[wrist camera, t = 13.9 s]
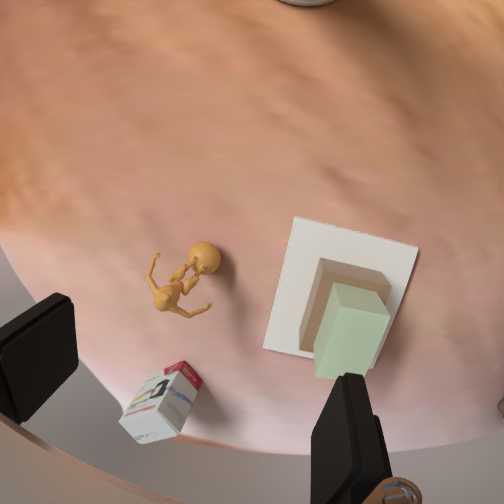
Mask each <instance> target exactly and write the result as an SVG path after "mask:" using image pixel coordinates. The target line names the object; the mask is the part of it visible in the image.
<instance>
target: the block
mask: <svg viewBox="0 0 504 504" xmlns="http://www.w3.org/2000/svg"><path fill="white" fill-rule="evenodd" d="M498 409H499V411H500V412H501V414H502V416H503V417H504V398H503V399H502V401H501V402H500V403H499V405H498Z"/></svg>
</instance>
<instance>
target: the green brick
mask: <svg viewBox="0 0 504 504" xmlns="http://www.w3.org/2000/svg"><path fill="white" fill-rule="evenodd" d="M390 317H391V316H390V314H389V313H388V311H387V309H386V307H385V306H384V304H383V302H382V300H381V299H380V297H379V295H378V293H377V292H375V291H370V290H366V289H361V288H357V287H352V286H348V285H344V284H339V283H335V282H334V283H333V286H332V290H331V293H330V296H329V299H328V303H327V306H326V309H325V312H324V315H323V318H322V321H321V324H320V327H319V330H318V333H317V336H316V339H315V342H314V345H313V347H314V362H315V376H316V377H322V378H328V379H334V380H336V379H337V377H338V376H339V375H340V376H343V375H344V374H345V373H346V372H349V373H355V374H361V375H363V377H365V375H366V373H367V371H368V369H369V367H370V364H371V362H372V360H373V358H374V355H375V353H376V351H377V348H378V346H379V344H380V341H381V339H382V337H383V334H384V332H385V329H386V327H387V324H388V322H389V319H390Z"/></svg>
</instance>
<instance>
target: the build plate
mask: <svg viewBox="0 0 504 504" xmlns="http://www.w3.org/2000/svg"><path fill="white" fill-rule="evenodd" d="M418 249H419V248H418V247H416V246H414V245H410V244H407V243H403V242H399V241H396V240H392V239H388V238H384V237H380V236H377V235H373V234H369V233H365V232H361V231H357V230H353V229H349V228H345V227H341V226H337V225H333V224H329V223H325V222H321V221H317V220H312V219H308V218H304V217H300V216H295V217H294V221H293V225H292V229H291V234H290V238H289V242H288V247H287V251H286V255H285V259H284V263H283V267H282V271H281V276H280V280H279V284H278V288H277V292H276V296H275V300H274V304H273V308H272V312H271V316H270V319H269V323H268V327H267V331H266V335H265V339H264V343H263V348H265V349H270V350H274V351H279V352H283V353H288V354H293V355H298V356H302V357H307V358H313V359H314V347H313V345H314V342H315V339H316V336H317V333H318V330H319V327H320V324H321V321H322V318H323V315H324V312H325V309H326V306H327V303H328V299H329V296H330V293H331V290H332V286H333V283H334V282H335V283H339V284H344V285H348V286H352V287H357V288H361V289H366V290H370V291H375V292H377V293H378V295H379V297H380V299H381V300H382V302H383V304H384V306H385V307H386V309H387V311H388V313H389V314H390V316H391V317H390V319H389V322H388V324H387V327H386V329H385V332H384V334H383V337H382V339H381V341H380V344H379V346H378V348H377V351H376V353H375V355H374V358H373V360H372V362H371V364H370V367H369V368H370V369H373V367H374V365H375V363H376V360H377V358H378V356H379V354H380V351H381V349H382V347H383V345H384V342H385V340H386V337H387V335H388V333H389V330H390V328H391V325H392V323H393V320H394V318H395V315H396V313H397V310H398V307H399V305H400V302H401V299H402V297H403V294H404V291H405V288H406V286H407V283H408V280H409V277H410V274H411V271H412V268H413V265H414V262H415V259H416V256H417V252H418Z"/></svg>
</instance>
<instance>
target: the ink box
mask: <svg viewBox="0 0 504 504" xmlns="http://www.w3.org/2000/svg"><path fill="white" fill-rule="evenodd" d="M201 384H202V380H201V379H200V378H199V376H198V375H197V374H196V373H195V372H194V371H193V369H192V368H191V367H190V366H189V365H188V364H187V363H186V362H185V361H181V362H179V363H177V364H175V365H173V366H171V367H168V368H166V369H164V370H162V371H160V372H157V373H155V374H153V375H150V376H148V378H147V379H146V381H145V382H144V384H143V385H142V387H141V388H140V390H139V391H138V393H137V394H136V396H135V397H134V399H133V400H132V402H131V404H130V405H129V407H128V408H127V410H126V411H125V413H124V414H123V416H122V417H121V419H120V420H119V424H121V425H122V427H124V429H125V430H126V431H127V432H128V433H129V434H130V435H131V436H132V437H133V438H134V439H135V440H136V441H137V442H139V443H140V444H145V443H149V442H153V441H158V440H162V439H167V438H170V437H175V436H177V434H180V432H181V430H182V427H183V425H184V423H185V420H186V418H187V416H188V413H189V411H190V409H191V406H192V404H193V402H194V400H195V397H196V395H197V393H198V390H199V388H200V386H201Z"/></svg>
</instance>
